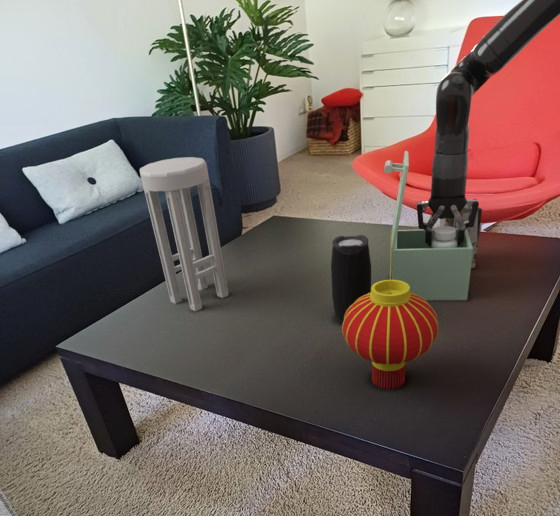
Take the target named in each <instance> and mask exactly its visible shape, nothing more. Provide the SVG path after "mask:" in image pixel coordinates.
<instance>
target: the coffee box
mask: <svg viewBox="0 0 560 516" xmlns="http://www.w3.org/2000/svg"><path fill="white" fill-rule="evenodd" d="M482 211H483V208H482V207H478V210H477V215H476V219H475V223H474V226H473V227H469V228H467V230H468V233H469V237H470V240H471V244H472V247H473V254H472V262H471V269H474V268H476V265H477V256H478V247H479V239H480V229H481V222H482V213H483V212H482ZM469 213H470V210H469V209H468V205H465V207H464V208H463V209H462V210H461V211H460V214H461V216H462V219H463V221H464V222H465V221H468V217H469ZM441 226H450V227H454V228H459V225H458V223H457V221H456V219H455V217H454V218H453V219H449V218H444V219H439V227H441Z"/></svg>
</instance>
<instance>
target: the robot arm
mask: <svg viewBox="0 0 560 516" xmlns="http://www.w3.org/2000/svg"><path fill="white" fill-rule="evenodd" d="M559 16H560V0H521V1H519V2H518V3H517V4H516V5H515V6H513V7H512V8H511V9H510V10H509V11H507V12H506V13H505V14H504V15H503V16H502V17H501V18H500V19H499V20H498V21H497V22H496V23H495V24H494V25H493V26H492V27H491V28H490V30H488V31H487V32H486V33H485V34H484V35H483V37H481V39H480V40H479V41H478V42H477V43H476V45H475V46H474V47H473V49H472V50H471V51H470V52H468V53H467V54H466V55H465V56H464V57H463V58H462V59H461V60H460V61H459V62H458V63H457V64H456V65H455V66H454V67H453V68H451V70H449V72H448V73H446V74H445V76H443V78H442V79H441V80H440V82H439V84H438V86H437V89H436V93H435V94H436V95H435V96H436V97H435V121H436V129H435V135H434V137H435V138H434V151H433V152H434V153H433V159H432V165H431V166H432V168H431V185H430V186H431V187H430V197H429V199H428V201H421V200H418V201H416V213H417V226H418V229H424V230H425V231H426V234H425V242H426V244H428V246H431V240H432V229H434V226H435V224H436V223H437V222H438V220H440V219H444V218H449V219H453V218H454V217H455V219H456V221H457V223H458V225H459V228H458V235H457V245H461V243H463V242H464V235H465V230H466V229H467V228H469V227H473V226H474V223H475V219H476V215H477V210H478V208H479V205H480V203H479V199H477V198H473V199H467V198H466V188H467V180H468V168H469V167H468V166H469V145H470V125H469V123H470V122H469V121H470V114H471V105H472V98H473V96H474V95H475V94H476V93H477V92H478V91H479V90H480V89H481V88H482V87H483V86H484V85H485V84H486V82H488V81H489V79H491V77H493V76H495V75H497V73H499V72H501V70H503V69H504V68H505V67H506V66H507V65H508V64H509V63H510V62H511V61H512V60H514V58H515V57H517V55H519V54H520V53H521V52H522V51H523V50H524V49H525V48H526V47H527V46H528V45H529V44H530V43H531V42H532V41H533V40H534V39H535V38H536V37H537V36H538V35H539V34H541V33H542V32H543V31H544V30H545V29H546V28H547V27H548V26H549V25H550V24H551V23H552V22H554V20H555V19H557V18H558V17H559ZM465 205H468V209H469V210H470V213H469V217H468V221H465V222H464V221H463V219H462V216H461V214H460V211H461V210H462V209H463V208H464V207H465ZM427 208H429V209H430V210H431V214H430V217H429V219H428V220H427V222H425V221H424V213H425V212H426V211H427Z"/></svg>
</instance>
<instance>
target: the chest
mask: <svg viewBox="0 0 560 516" xmlns="http://www.w3.org/2000/svg"><path fill="white" fill-rule="evenodd" d="M434 229H435V228H432V240H433V239H435V238H434V237H433V235H434ZM425 234H426V231H425V230H424V229H419V228H417V229H416V228H415V229H398V232H397V238H396V244H395V249H393V248H392V267H391V276H392V277H391V280H400V281H403V282H406V283H407V284H408V285H409V286H410V292H412V293H414V294H415V295H418V296H420V297H422V298H423V299H425V300H426V301H468V298H469V290H470V289H469V288H470V281H471V280H470V279H471V271H472V268H471V262H472V254H473V247H472V244H471V240H470V237H469V233H468V230H467V229H466V230H465V235H464V242H463V243H461V245H457V248H431V246H428V244H426V242H425ZM457 235H458V228H456V237H455V238H454V239H456V241H457ZM432 240H431V242H432Z"/></svg>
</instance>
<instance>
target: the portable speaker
mask: <svg viewBox="0 0 560 516" xmlns="http://www.w3.org/2000/svg"><path fill="white" fill-rule="evenodd" d="M330 274H331V275H330V276H331V277H330V278H331V291H332V292H331V294H332V297H331V298H332V303H333V309H334V314H335V321H336V322H337V323H338V324H340V325H343V322H344V316H345V313H346V311H347V310H348V308H349V307H350V306H351V305H352V304H353V303H354V302H355V301H356V300H357V299H358V298H360V297H362V296H364V295H367V294H368V293H370V292H371V287H372V261H371V253H370V247H369V238H368V237H367V236H366V235H363V234H359V235H349V236H348V235H346V236H345V235H339V236H336V237H335V238H333V239H332V248H331V262H330Z"/></svg>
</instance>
